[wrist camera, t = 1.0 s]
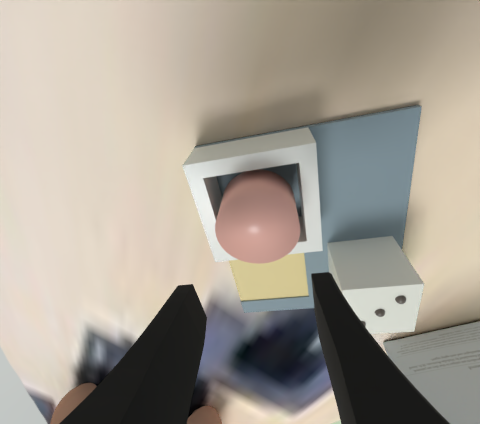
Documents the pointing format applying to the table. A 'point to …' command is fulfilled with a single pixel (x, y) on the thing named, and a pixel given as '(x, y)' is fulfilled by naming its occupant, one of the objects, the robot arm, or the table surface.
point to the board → (338, 200)
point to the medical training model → (201, 420)
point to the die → (377, 283)
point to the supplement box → (443, 369)
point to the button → (258, 217)
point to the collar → (252, 158)
